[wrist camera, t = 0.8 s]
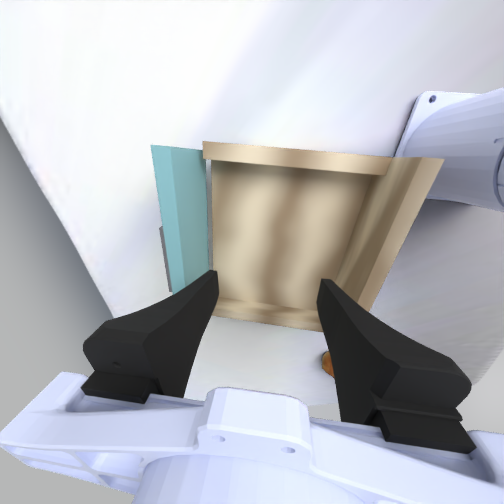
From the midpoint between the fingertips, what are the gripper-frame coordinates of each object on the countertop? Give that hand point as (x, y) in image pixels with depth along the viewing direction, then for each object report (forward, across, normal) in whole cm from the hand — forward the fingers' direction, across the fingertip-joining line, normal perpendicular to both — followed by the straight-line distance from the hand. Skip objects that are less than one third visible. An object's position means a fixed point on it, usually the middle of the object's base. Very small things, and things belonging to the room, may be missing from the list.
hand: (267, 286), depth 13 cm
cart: (+10, -1, 0) cm, 10 cm away
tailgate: (+7, +7, 0) cm, 10 cm away
